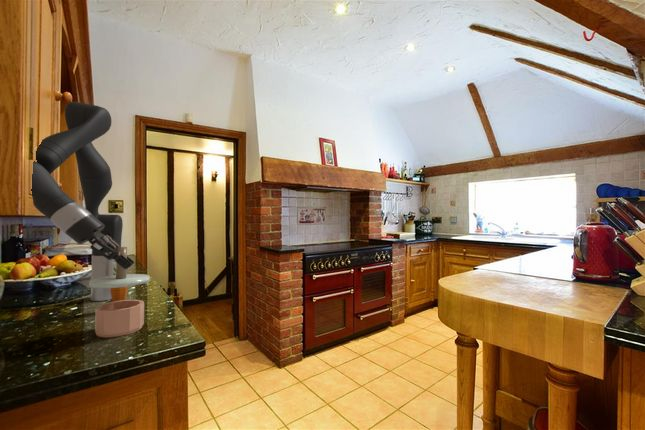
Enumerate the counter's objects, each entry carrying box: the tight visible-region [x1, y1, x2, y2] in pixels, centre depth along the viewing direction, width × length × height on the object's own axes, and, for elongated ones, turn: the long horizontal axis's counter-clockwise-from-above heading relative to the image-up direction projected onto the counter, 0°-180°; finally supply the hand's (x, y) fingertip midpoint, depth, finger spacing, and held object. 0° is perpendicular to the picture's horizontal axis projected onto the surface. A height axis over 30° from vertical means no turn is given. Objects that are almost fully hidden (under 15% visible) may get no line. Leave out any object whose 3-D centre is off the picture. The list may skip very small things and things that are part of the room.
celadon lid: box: [88, 246, 151, 288], centre depth 81 cm, size 14×14×10 cm
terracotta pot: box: [94, 299, 145, 338], centre depth 81 cm, size 11×11×7 cm
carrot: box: [111, 267, 129, 302], centre depth 99 cm, size 5×5×15 cm
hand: (130, 265), depth 82 cm, fingers closed on celadon lid, 2 cm apart
